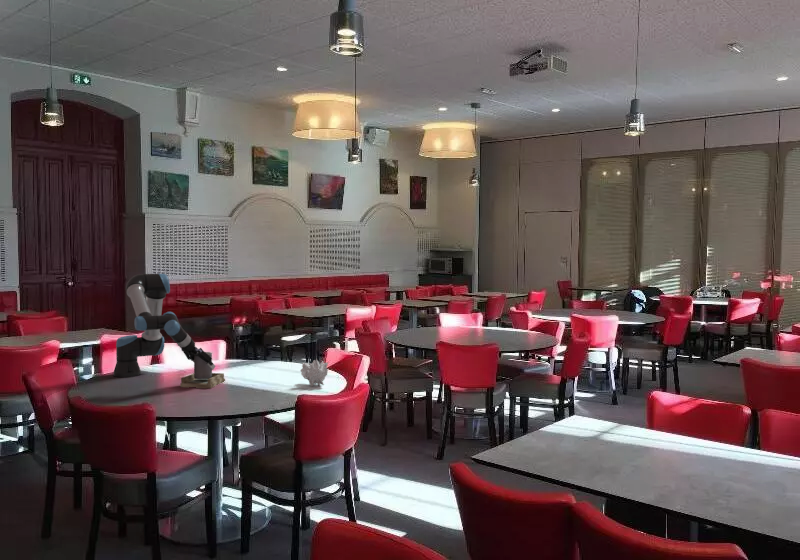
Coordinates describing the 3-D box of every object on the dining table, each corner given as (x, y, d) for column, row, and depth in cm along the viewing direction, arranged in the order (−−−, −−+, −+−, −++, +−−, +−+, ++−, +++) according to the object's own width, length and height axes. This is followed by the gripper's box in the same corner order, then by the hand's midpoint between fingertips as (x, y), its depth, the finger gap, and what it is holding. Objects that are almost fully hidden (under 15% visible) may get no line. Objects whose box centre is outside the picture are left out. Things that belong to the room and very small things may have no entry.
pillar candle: (194, 376, 376) (194, 349, 375) (212, 375, 378) (212, 349, 377) (193, 379, 367) (193, 352, 366) (211, 378, 369) (211, 352, 368)
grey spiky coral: (338, 362, 373) (318, 348, 367) (327, 389, 364) (306, 375, 357) (318, 367, 388) (298, 354, 381) (306, 393, 378) (286, 380, 372)
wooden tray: (195, 380, 383) (195, 372, 383) (225, 381, 380) (225, 373, 380) (180, 387, 365) (180, 378, 365) (211, 388, 362) (211, 379, 362)
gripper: (167, 346, 364) (189, 370, 378) (196, 349, 353) (218, 374, 367) (174, 335, 368) (196, 360, 383) (203, 338, 357) (225, 363, 372)
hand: (207, 367), depth 375 cm, fingers closed on pillar candle, 9 cm apart
